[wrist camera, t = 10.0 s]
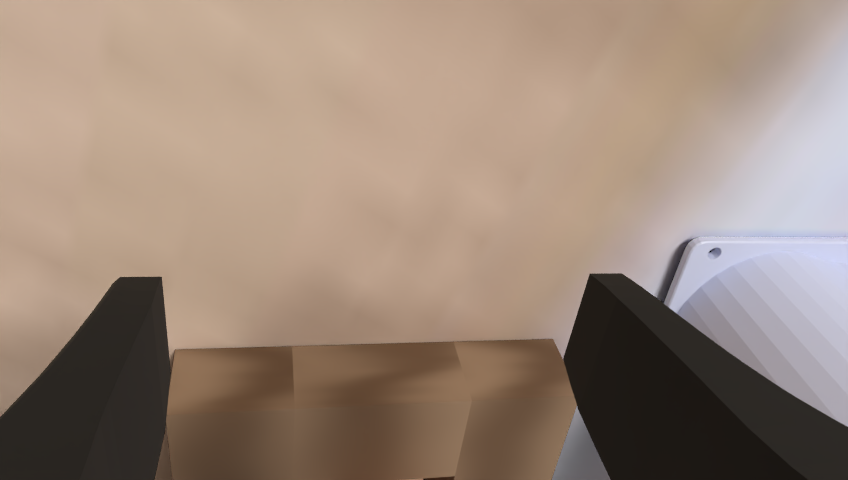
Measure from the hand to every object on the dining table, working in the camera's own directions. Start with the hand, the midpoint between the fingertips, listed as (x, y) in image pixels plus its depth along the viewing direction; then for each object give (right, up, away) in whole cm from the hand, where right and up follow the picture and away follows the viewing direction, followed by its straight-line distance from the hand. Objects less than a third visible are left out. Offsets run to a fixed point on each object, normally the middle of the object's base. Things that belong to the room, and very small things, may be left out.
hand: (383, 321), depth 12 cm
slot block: (-2, -8, +18) cm, 20 cm away
